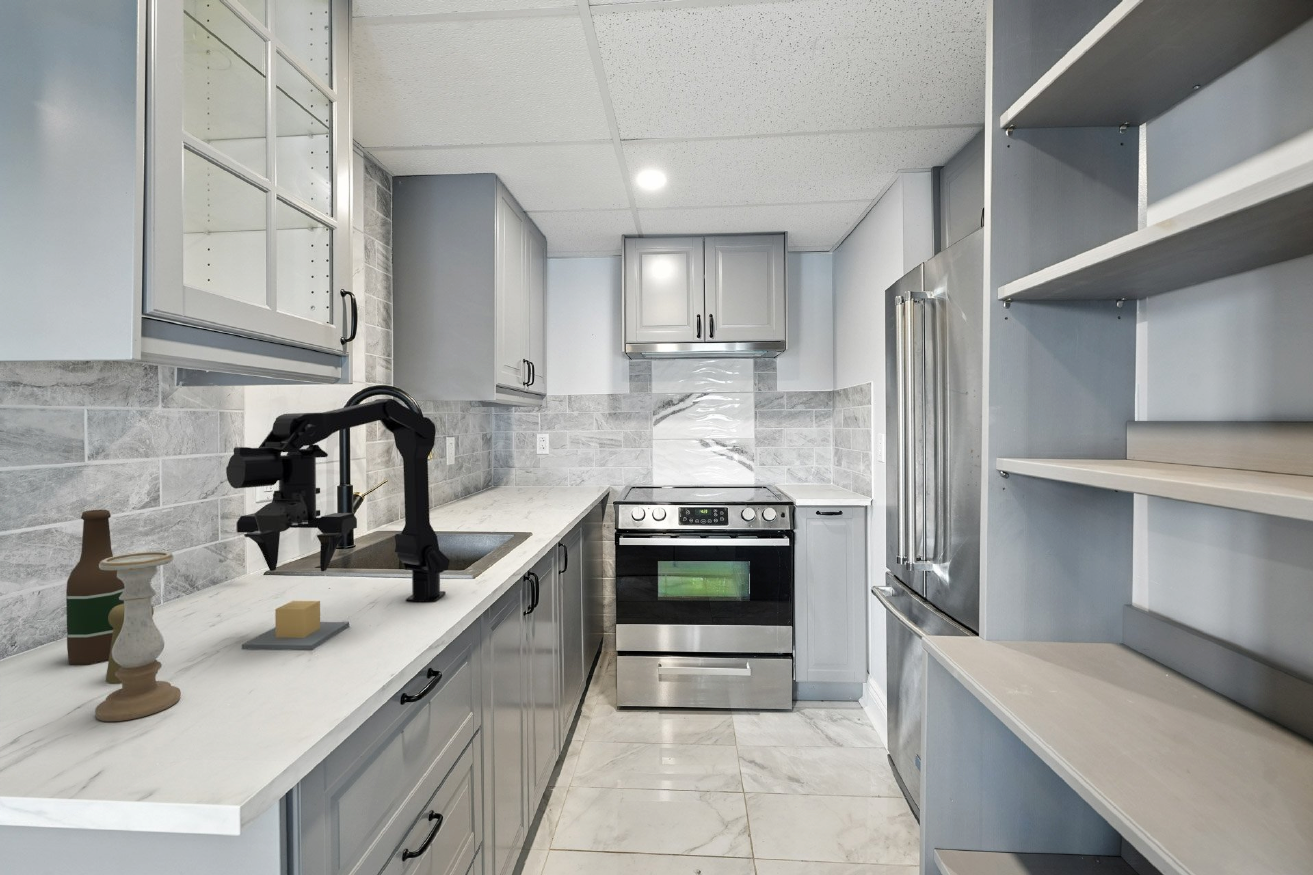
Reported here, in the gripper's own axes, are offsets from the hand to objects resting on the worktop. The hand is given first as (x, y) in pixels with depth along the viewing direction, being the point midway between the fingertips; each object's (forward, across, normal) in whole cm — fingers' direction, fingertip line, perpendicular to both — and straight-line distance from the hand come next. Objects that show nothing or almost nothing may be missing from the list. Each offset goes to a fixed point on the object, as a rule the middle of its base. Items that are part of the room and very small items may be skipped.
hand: (298, 570), depth 108 cm
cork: (+12, -15, -17) cm, 26 cm away
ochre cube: (+11, 0, 0) cm, 11 cm away
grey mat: (+12, 0, 0) cm, 12 cm away
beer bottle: (+12, -27, -10) cm, 31 cm away
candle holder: (+12, -5, -27) cm, 30 cm away
